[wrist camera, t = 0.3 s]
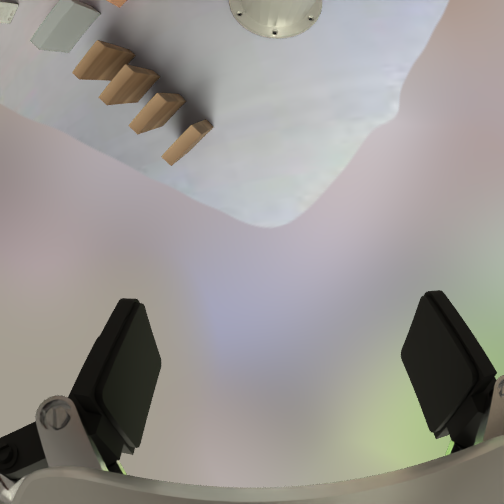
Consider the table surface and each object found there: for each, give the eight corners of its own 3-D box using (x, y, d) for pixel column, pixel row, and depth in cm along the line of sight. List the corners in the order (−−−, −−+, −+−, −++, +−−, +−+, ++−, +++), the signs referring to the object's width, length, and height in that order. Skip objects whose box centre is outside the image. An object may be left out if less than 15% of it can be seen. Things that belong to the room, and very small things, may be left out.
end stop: (59, 44, 32) (29, 40, 25) (90, 5, 29) (63, -5, 22) (68, 53, 33) (39, 49, 26) (100, 13, 30) (74, 3, 23)
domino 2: (130, 95, 37) (98, 97, 28) (153, 70, 36) (125, 64, 27) (137, 102, 38) (106, 105, 29) (160, 77, 36) (134, 72, 27)
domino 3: (155, 119, 39) (128, 125, 30) (178, 93, 37) (157, 92, 29) (162, 126, 40) (137, 134, 31) (186, 101, 38) (166, 101, 29)
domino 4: (181, 143, 41) (161, 156, 32) (205, 119, 39) (191, 124, 31) (189, 151, 42) (171, 166, 33) (213, 127, 40) (201, 134, 31)
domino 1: (107, 74, 35) (72, 72, 27) (129, 49, 34) (97, 40, 25) (113, 80, 36) (79, 79, 27) (135, 55, 34) (105, 46, 25)
